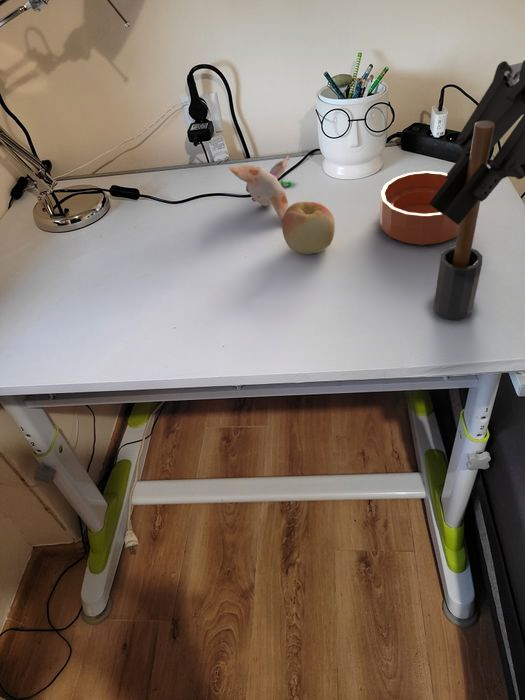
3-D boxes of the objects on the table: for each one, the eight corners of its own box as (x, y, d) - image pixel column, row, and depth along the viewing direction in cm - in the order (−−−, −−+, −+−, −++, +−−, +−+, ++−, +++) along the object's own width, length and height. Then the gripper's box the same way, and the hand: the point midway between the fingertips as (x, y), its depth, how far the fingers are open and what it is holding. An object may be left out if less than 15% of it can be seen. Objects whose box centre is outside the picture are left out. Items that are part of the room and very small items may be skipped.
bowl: (482, 217, 88) (488, 185, 84) (434, 257, 82) (438, 225, 78) (411, 194, 96) (413, 164, 92) (363, 229, 90) (363, 199, 86)
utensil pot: (478, 306, 73) (490, 254, 67) (458, 325, 71) (468, 274, 64) (446, 292, 76) (454, 241, 70) (426, 310, 74) (432, 260, 67)
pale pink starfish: (239, 154, 104) (212, 186, 94) (262, 127, 99) (235, 158, 89) (292, 205, 108) (270, 241, 98) (316, 181, 103) (296, 217, 93)
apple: (281, 239, 92) (276, 199, 86) (330, 230, 91) (328, 190, 86) (288, 267, 85) (283, 226, 80) (340, 258, 85) (339, 216, 80)
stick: (469, 272, 68) (498, 122, 54) (461, 279, 68) (488, 129, 54) (456, 267, 70) (481, 119, 56) (448, 274, 69) (471, 125, 55)
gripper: (676, 57, 49) (502, 255, 58) (554, 28, 59) (422, 201, 68) (658, 5, 44) (471, 230, 53) (529, -16, 55) (389, 176, 63)
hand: (443, 213), depth 60 cm, fingers closed on stick, 2 cm apart
